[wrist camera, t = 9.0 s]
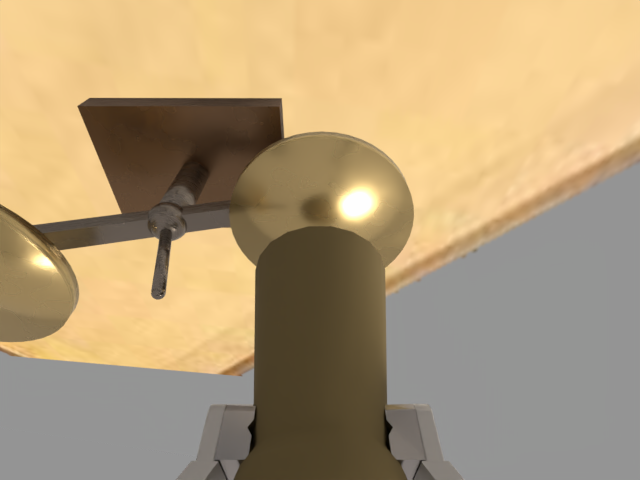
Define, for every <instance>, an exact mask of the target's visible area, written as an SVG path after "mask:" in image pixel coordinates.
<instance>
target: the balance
mask: <svg viewBox="0 0 640 480" xmlns="http://www.w3.org/2000/svg"><path fill="white" fill-rule="evenodd" d="M77 107H78V109H79V112H80V114H81V116H82V119H83V121H84V124H85V126H86V129H87V131H88V133H89V136H90V138H91V141H92V143H93V145H94V148H95V150H96V153H97V155H98V158H99V160H100V162H101V165H102V167H103V170H104V172H105V174H106V177H107V179H108V182H109V184H110V187H111V189H112V191H113V194H114V196H115V199H116V201H117V203H118V206H119V208H120V211H121V213H122V214H116V215H108V216H100V217H92V218H84V219H76V220H69V221H61V222H53V223H45V224H37V225H32V224H31V223H29V222H28V221H26V220H25V219H23V218H22V217H21V216H19V215H18V214H16V213H15V212H13V211H11V210H9V209H8V208H6V207H4V206H3V205H1V204H0V342H25V341H33V340H37V339H41V338H44V337H47V336H49V335H52V334H53V333H55V332H57V331H58V330H59V329H60V328H62V327H63V326H64V324H65V323H66V321H67V320H68V318H69V317H70V316H71V314H72V313H73V311H74V310H75V308H76V306H77V303H78V300H79V286H78V282H77V279H76V275H75V273H74V271H73V269H72V267H71V265H70V264H69V263H68V261H67V260H66V258H65V257H64V255H63V254H62V253H61V252H60V250H66V249H74V248H81V247H88V246H95V245H102V244H109V243H117V242H124V241H131V240H138V239H145V238H152V237H155V238H157V239H159V244H158V250H157V257H156V263H155V270H154V276H153V283H152V289H151V296H152V297H153V298H154V299H156V300H160V299H162V298H163V297H164V296H165V294H166V286H167V277H168V268H169V259H170V251H171V242H172V241H175V240H177V239H179V238H181V237H182V236H183V235H184V234H185V233H188V232H195V231H202V230H209V229H217V228H231V229H232V233H233V236H234V238H235V240H236V243H237V244H238V246H239V248H240V249H241V251H242V252H243V253H244V255H245V256H246V257H247V258H248V259H249V260H250V261H251V262H252V263H253V264H254V265H255V266H257V263H258V259H259V256H260V254H261V253H262V252H263V251H264V250H265V248H266V247H267V246H268V245H269V243H270V242H272V241H273V240H275V239H277V238H278V237H280V236H282V235H283V234H285V233H287V232H289V231H293V230H297V229H300V228H304V227H308V226H333V227H336V228H340V229H344V230H348V231H352V232H354V233H356V234H357V235H359V236H361V237H362V238H364V239H366V240H367V241H369V242H370V243H371V244H372V245H373V246H374V248H375V249H376V250H377V251H378V252H379V254H380V255H381V257H382V261H383V264H384V267H385V268H386V267H387V266H388V265H389V264H390V263H392V262H393V261H394V260H395V259H396V257H397V256H398V255H399V254H400V253H401V251H402V250H403V248H404V247H405V245H406V243H407V241H408V239H409V237H410V234H411V230H412V227H413V220H414V205H413V201H412V196H411V193H410V190H409V187H408V185H407V182H406V180H405V177H404V176H403V174H402V172H401V171H400V169H399V168H398V166H397V165H396V164H395V163H394V161H393V160H392V159H391V158H390V157H388V156H387V155H386V154H385V153H384V152H383V151H381V150H380V149H378V148H377V147H375V146H374V145H372V144H370V143H368V142H366V141H364V140H362V139H359V138H356V137H353V136H350V135H347V134H341V133H336V132H323V131H321V132H307V133H302V134H297V135H293V136H290V137H287V138H284V125H283V109H282V98H89V99H87V100H86V101H84V102H83V103H81V104H80V105H78V106H77Z"/></svg>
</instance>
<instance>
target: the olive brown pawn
mask: <svg viewBox="0 0 640 480" xmlns="http://www.w3.org/2000/svg"><path fill="white" fill-rule="evenodd" d="M254 404H256V418H255V427H254V431H253V443H254V445H253V450H252V451H251V452H250V454H249V455H248V456H247V457H246V458H245V460H244V461H243V462H242V463H241V465H240V466H239V468H238V470H237V473H236V475H235V477H234V480H407V477H406V475H405V472H404V470H403V468H402V466H401V465H400V463H399V462H398V461H397V460H396V458H395V457H394V456H393V455H392V454H391V452H390V451H389V450H388V449H387V440H388V432H387V428H386V424H385V412H384V405H387V356H386V284H385V267H384V264H383V261H382V257H381V255H380V254H379V252H378V251H377V250H376V249H375V248H374V246H373V245H372V244H371V243H370V242H369V241H367V240H366V239H364V238H362V237H361V236H359V235H357V234H356V233H354V232H352V231H348V230H344V229H340V228H336V227H333V226H308V227H304V228H300V229H297V230H293V231H289V232H287V233H285V234H283V235H282V236H280V237H278V238H277V239H275V240H273V241H272V242H270V243H269V245H268V246H267V247H266V248H265V250H264V251H263V252H262V253H261V254H260V256H259V259H258V263H257V266H256V270H255V335H254Z"/></svg>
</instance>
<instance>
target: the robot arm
mask: <svg viewBox="0 0 640 480" xmlns="http://www.w3.org/2000/svg"><path fill="white" fill-rule="evenodd" d="M384 412H385V424H386V428H387V432H388V440H387V449H388V450H389V451H390V452H391V454H392V455H393V456H394V457H395V458H396V460H397V461H398V462H399V463H400V465H401V466H402V468H403V470H404V472H405V475H406V477H407V480H464V479H463V478H462V476H461V475H460V474H459V473H458V471H457V470H456V469H455V468H454V467H453V465H452V464H451V463H450V462H449V461H444V458H443V454H442V449H441V445H440V441H439V437H438V433H437V429H436V425H435V421H434V417H433V413H432V409H431V407H430V406H429V405H428V404H391V405H384ZM255 418H256V404H212V405H211V406H210V408H209V410H208V413H207V417H206V421H205V425H204V429H203V433H202V438H201V442H200V446H199V450H198V454H197V458H196V461H191V462H190V463H189V464H188V466H187V467H186V468H185V469H184V470H183V472H182V473H181V474H180V475H179V476H178V478H177V479H176V480H234V477H235V475H236V473H237V470H238V468H239V466H240V465H241V463H242V462H243V461H244V460H245V458H246V457H247V456H248V455H249V454H250V452H251V451H252V450H253V445H254V443H253V431H254V427H255Z"/></svg>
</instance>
